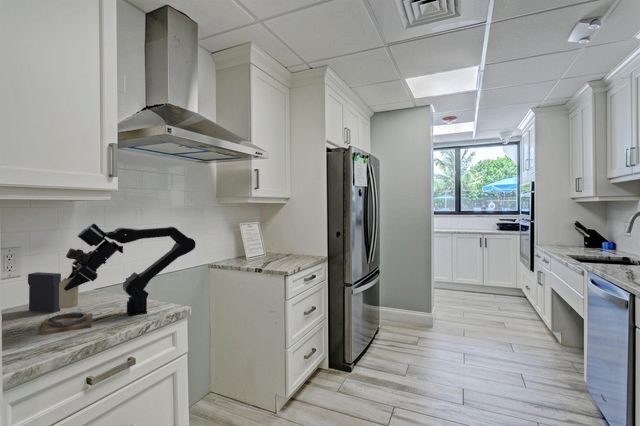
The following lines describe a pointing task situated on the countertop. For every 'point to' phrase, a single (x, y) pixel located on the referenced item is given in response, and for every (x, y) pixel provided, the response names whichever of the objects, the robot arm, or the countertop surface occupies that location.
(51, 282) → the navy upright box
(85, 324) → the dock
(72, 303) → the candle
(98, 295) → the countertop surface
